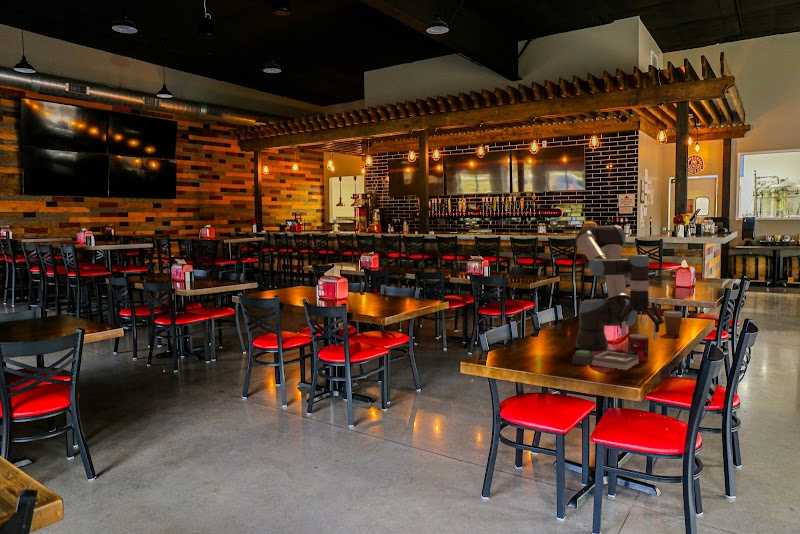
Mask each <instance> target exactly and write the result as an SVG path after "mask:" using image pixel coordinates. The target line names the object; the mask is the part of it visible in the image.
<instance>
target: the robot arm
mask: <svg viewBox="0 0 800 534" xmlns="http://www.w3.org/2000/svg"><path fill="white" fill-rule="evenodd" d="M575 245H576V246H577V248H578V249H579V250H580V251H582V252H583V253H584V255H585V257H586V258H587V260H588V261H589V264H588V269H589V270H588V271H589V273H590V275H592V276H598V277H599V276H605V280H606V286H607V287H606V288H607V294H608V297H607V298H606V299H604V298H594V299H586V300H584V301H581V302H580V304H579V311H578V313H579V331H578V335H577V338H576V340H575V348H577V349H579V350H586V351H604V350H608V349H609V341H608V339H607V335H606V333H605V327H619V329H620V330H621V337H623V338H624V337H626V334H627V331H626V330H627V326H629V327H630V326H633V325H634V324H635V323H636V320H637V319H638V318H637V317H638V312H644V314H646V315H647V316H648V317H649V319H650V320H651V321H652V323H653V325H652V340H653V341H656V340H658V333H659V332H660V325H662V324H665V319H664V318H663V316H662V315H661V313H660V311H659V309H658V307H657V302H656V301H650V300H649V299H650V298H649V294H650V293H649V289H650V287H649V284H650V282H649V281H650V278H649V276H650V259H649V255H648V254H632V255H631V256H630V257H627V258H622V256H621V255H622V254H621V252H622V251H623V248H624V247H625V246H626V235H625V231H624V228H622V226H620V225H617V224H616V225H615V224H614V225H613V224H610V225H588V226H585V227H583V228H582V229H580V230H579V231H578V233H577V234H576V236H575ZM625 276H630V277H629V279H630V280H629V284H630V285H629V289H630V291H629V294H628V290H627V285H626V280H625V279H626V278H625ZM649 306H650V308H652V311H653V312H652V311H651V310H650V308H649ZM607 348H608V349H607Z"/></svg>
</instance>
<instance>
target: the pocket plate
mask: <svg viewBox="0 0 800 534" xmlns="http://www.w3.org/2000/svg"><path fill="white" fill-rule="evenodd" d="M639 363H640V362H639V359H638V355H631V354H629V353H624V352H616V351H608V350H606V351H603V352H601V353H599V354H597V355H593V360H592V363H591V365H592V366H596V365H598V367H604V368H610V369H615V368H617V370H621V369H622V370H623V371H627V370H629V369H631V368H633V367H634V365H635V366H636V364H637V365H638V364H639ZM632 366H633V367H632Z"/></svg>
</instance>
